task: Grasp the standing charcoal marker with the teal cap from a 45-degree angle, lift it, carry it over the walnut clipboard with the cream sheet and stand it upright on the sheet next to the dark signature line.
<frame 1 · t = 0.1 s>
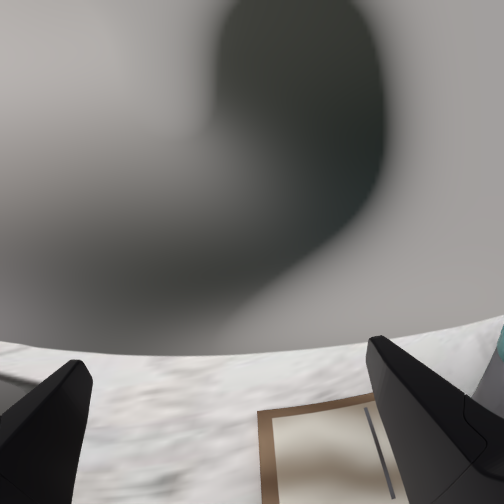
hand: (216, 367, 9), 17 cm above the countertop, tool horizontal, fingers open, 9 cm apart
clipboard: (345, 484, 17), on the countertop
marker: (474, 430, 18), on the countertop
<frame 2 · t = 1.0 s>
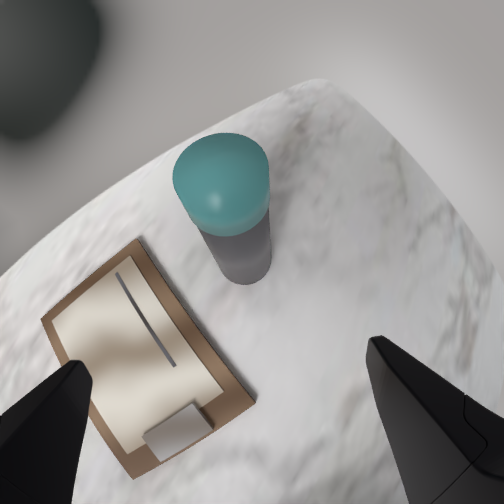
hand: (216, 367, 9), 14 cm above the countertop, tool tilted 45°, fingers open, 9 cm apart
clipboard: (131, 361, 22), on the countertop
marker: (244, 259, 24), on the countertop
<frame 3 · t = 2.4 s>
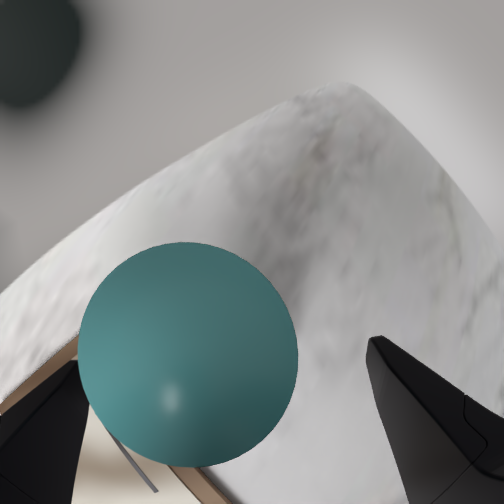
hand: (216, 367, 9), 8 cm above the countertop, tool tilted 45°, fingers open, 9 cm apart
clipboard: (103, 474, 14), on the countertop
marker: (243, 360, 16), on the countertop
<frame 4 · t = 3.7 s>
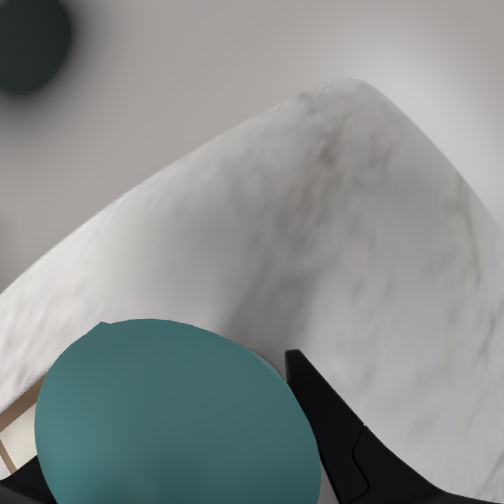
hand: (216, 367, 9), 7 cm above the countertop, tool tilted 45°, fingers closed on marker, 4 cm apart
clipboard: (97, 501, 12), on the countertop
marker: (243, 391, 14), on the countertop, touching gripper
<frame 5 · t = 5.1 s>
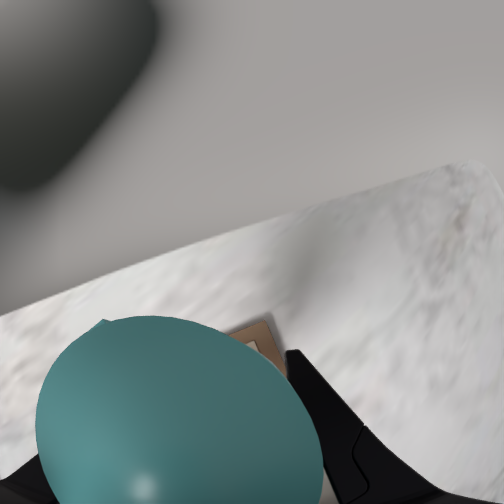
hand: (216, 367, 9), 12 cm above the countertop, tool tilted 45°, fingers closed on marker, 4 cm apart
clipboard: (228, 455, 18), on the countertop
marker: (243, 390, 14), point 6 cm above the countertop, touching gripper
when the fingers open (8 cm above the countertop, at t = 6.6 s): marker stays where it is, resting on clipboard.
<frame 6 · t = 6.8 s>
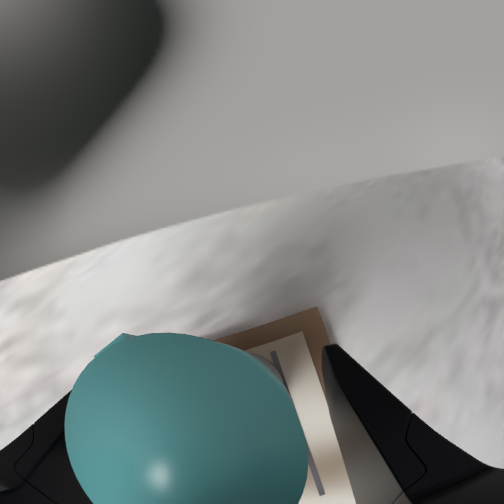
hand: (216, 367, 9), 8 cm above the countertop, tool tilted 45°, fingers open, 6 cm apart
clipboard: (256, 471, 14), on the countertop
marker: (244, 389, 15), point 1 cm above the countertop, touching clipboard
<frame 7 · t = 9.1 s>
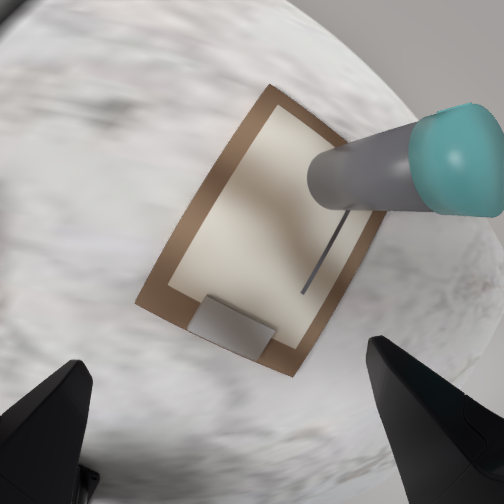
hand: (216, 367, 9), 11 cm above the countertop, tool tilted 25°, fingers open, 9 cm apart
clipboard: (281, 236, 20), on the countertop
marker: (334, 180, 20), point 1 cm above the countertop, touching clipboard
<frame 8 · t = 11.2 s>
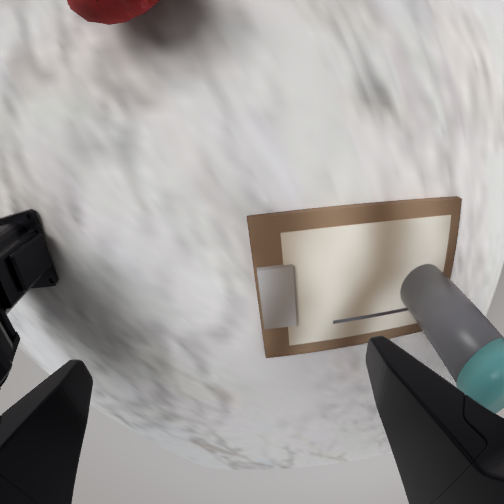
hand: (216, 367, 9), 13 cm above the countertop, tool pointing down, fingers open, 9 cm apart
clipboard: (363, 280, 23), on the countertop
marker: (421, 286, 22), point 1 cm above the countertop, touching clipboard
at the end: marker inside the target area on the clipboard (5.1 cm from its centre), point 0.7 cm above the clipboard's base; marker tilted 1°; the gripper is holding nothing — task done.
